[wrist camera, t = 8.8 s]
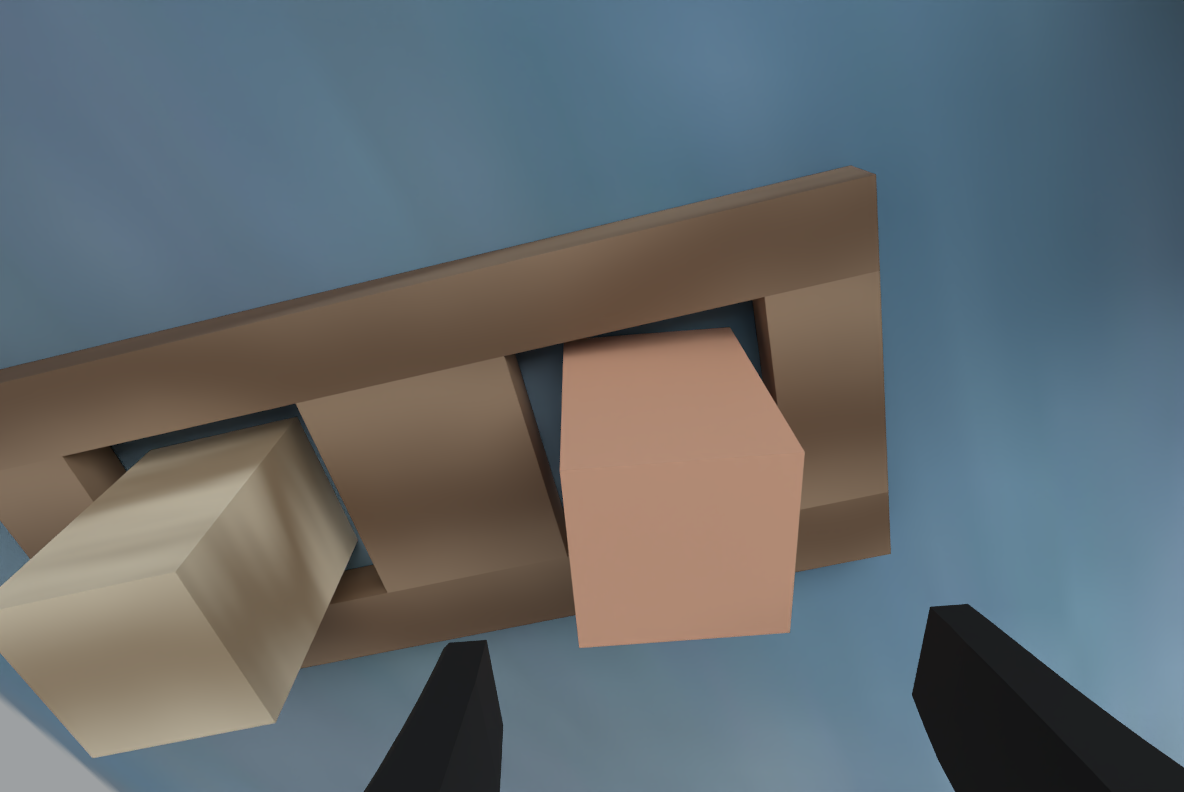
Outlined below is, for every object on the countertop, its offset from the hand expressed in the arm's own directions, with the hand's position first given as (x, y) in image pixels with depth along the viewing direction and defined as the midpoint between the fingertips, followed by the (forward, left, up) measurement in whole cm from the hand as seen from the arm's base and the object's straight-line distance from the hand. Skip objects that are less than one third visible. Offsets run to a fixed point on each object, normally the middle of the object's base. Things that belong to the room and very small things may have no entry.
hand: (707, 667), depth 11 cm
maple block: (0, -12, -9) cm, 15 cm away
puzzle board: (0, -6, -9) cm, 11 cm away
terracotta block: (0, 0, -9) cm, 9 cm away
